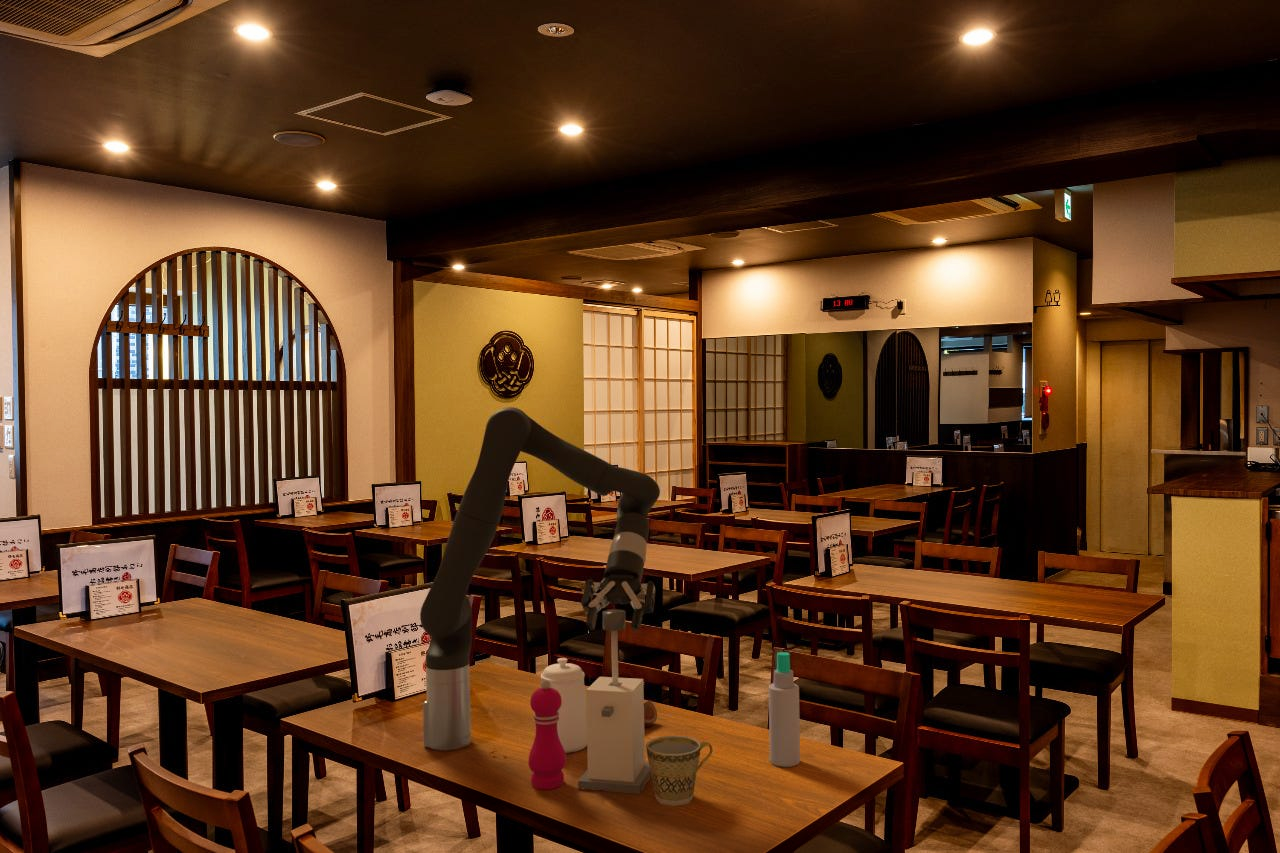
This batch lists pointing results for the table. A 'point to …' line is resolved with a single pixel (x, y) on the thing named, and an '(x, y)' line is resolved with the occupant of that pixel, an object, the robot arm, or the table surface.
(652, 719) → the fruit slice
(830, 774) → the table surface
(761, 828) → the table surface
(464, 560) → the robot arm
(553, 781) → the pepper mill
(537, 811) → the table surface
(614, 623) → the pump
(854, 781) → the table surface
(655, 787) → the ceramic cup
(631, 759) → the dispenser
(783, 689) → the spray bottle
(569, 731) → the coffeepot
